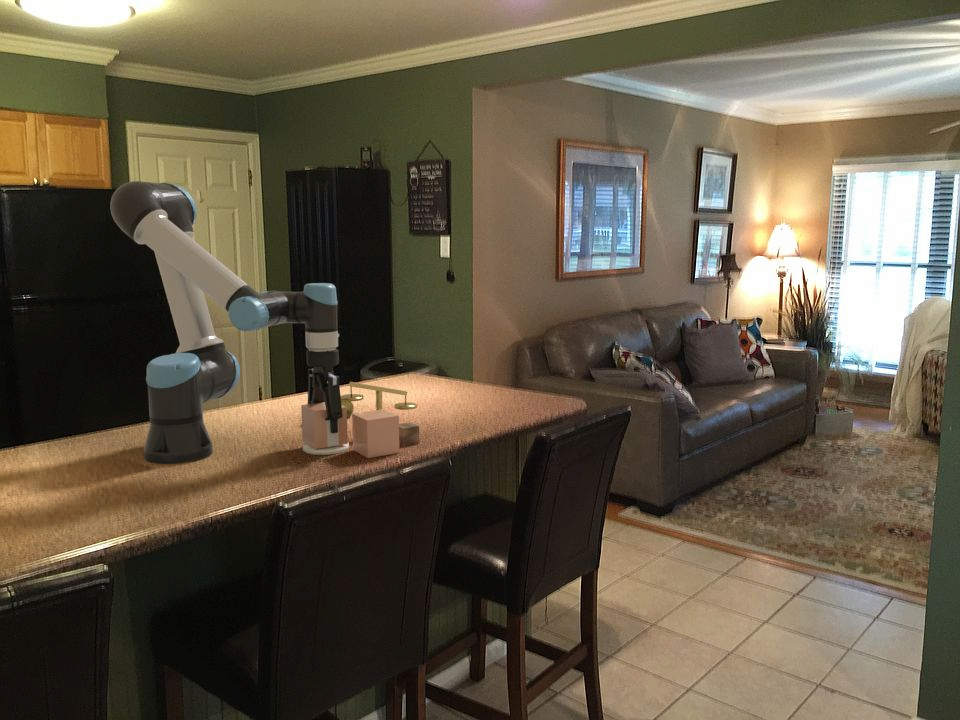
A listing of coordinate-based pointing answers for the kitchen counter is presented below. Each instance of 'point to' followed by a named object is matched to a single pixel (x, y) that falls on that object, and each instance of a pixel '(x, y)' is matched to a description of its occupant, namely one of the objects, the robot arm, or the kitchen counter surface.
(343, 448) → the dish
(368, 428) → the tan cardboard-like box
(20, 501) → the kitchen counter surface
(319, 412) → the peach pink cube
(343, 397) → the balance
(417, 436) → the gray metal block
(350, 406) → the potato
